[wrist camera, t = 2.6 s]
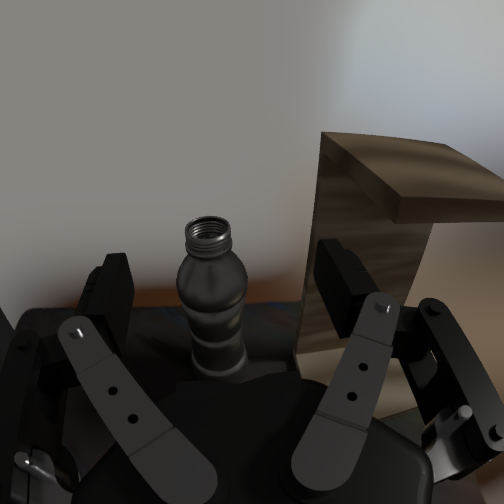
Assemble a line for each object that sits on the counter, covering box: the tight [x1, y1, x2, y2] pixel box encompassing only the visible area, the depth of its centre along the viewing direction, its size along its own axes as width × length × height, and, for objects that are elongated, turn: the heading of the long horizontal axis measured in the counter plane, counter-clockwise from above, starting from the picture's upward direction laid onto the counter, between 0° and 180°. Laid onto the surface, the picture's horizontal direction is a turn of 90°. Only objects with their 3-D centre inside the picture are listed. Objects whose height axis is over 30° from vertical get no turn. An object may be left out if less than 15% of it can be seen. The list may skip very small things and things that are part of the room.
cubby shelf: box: [293, 132, 504, 421], centre depth 27 cm, size 12×13×27 cm
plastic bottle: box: [176, 216, 248, 384], centre depth 30 cm, size 6×7×20 cm
